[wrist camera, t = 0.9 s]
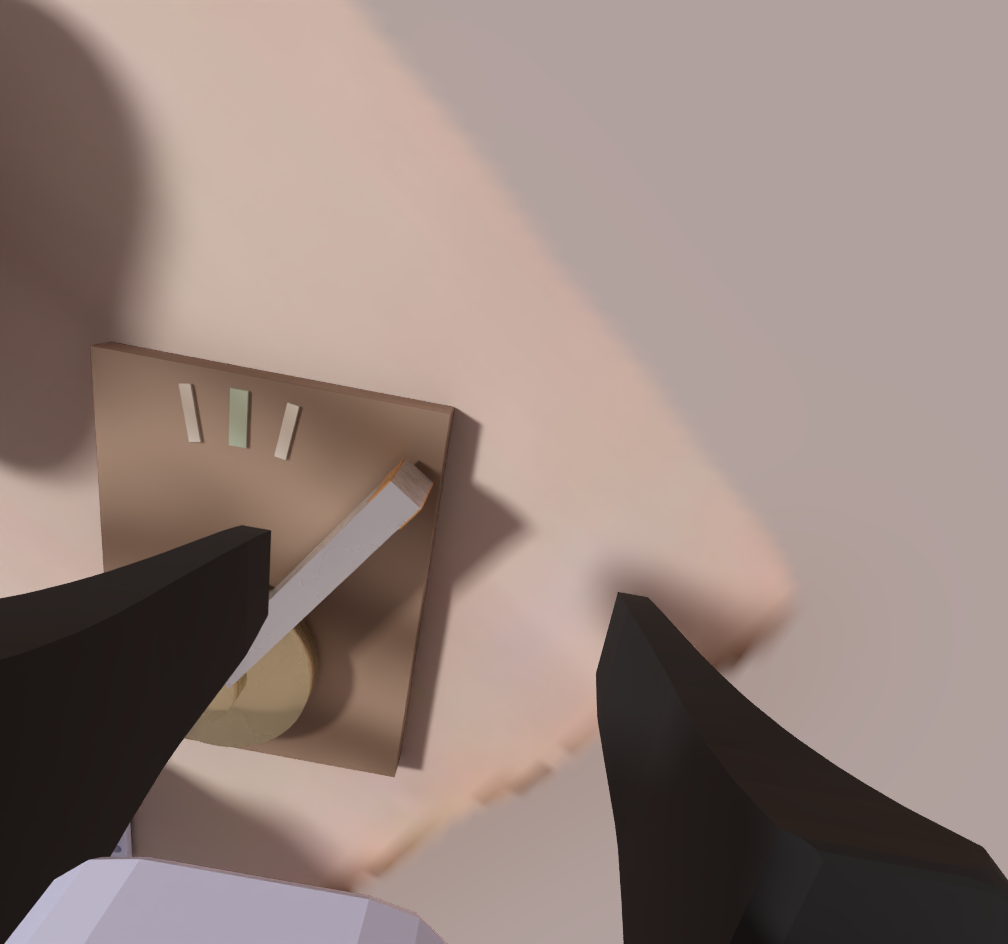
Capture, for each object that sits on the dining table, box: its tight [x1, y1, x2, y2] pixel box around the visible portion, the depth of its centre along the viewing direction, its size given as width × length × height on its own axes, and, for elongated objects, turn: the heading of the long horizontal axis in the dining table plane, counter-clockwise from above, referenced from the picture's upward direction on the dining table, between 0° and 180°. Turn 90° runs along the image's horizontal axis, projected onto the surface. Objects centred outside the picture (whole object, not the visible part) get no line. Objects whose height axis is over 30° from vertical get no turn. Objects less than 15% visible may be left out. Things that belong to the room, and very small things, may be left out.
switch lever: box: [186, 457, 434, 747], centre depth 21 cm, size 14×7×2 cm, turn 135°
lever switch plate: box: [90, 342, 454, 777], centre depth 23 cm, size 16×12×1 cm
